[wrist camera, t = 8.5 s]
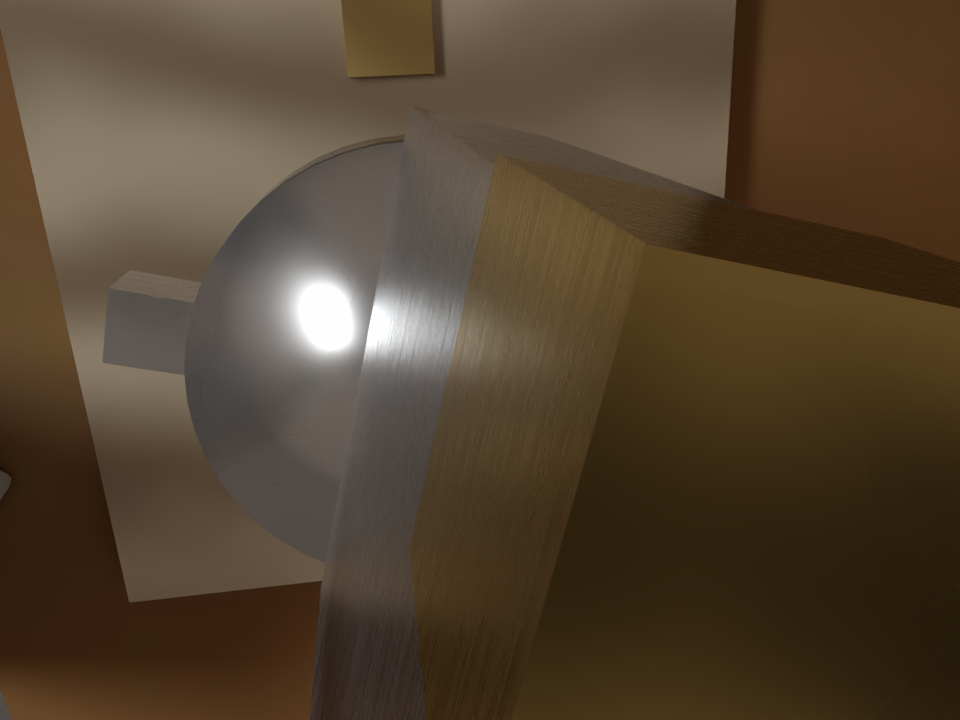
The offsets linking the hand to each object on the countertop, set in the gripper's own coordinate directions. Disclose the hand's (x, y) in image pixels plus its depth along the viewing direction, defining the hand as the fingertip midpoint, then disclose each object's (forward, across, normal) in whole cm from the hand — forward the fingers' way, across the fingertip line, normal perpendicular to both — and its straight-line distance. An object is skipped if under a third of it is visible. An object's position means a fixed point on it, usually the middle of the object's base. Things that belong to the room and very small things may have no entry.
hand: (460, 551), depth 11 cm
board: (+16, 0, 0) cm, 16 cm away
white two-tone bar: (+9, 0, 0) cm, 9 cm away
